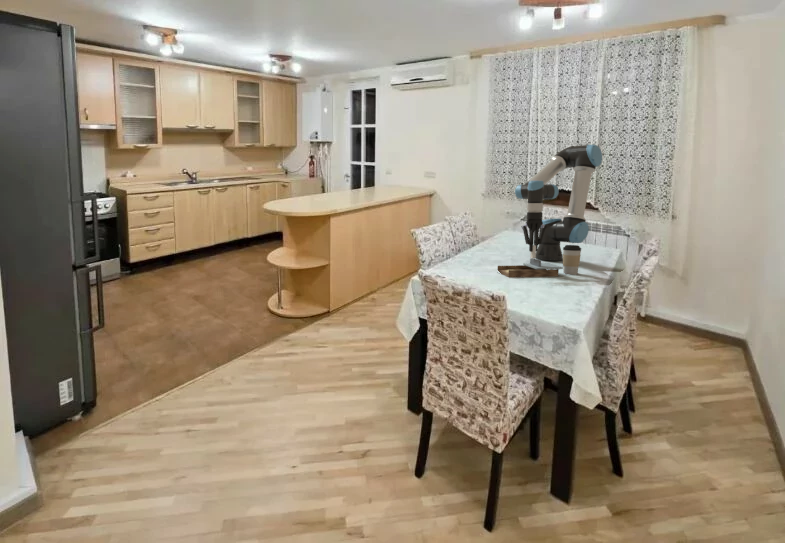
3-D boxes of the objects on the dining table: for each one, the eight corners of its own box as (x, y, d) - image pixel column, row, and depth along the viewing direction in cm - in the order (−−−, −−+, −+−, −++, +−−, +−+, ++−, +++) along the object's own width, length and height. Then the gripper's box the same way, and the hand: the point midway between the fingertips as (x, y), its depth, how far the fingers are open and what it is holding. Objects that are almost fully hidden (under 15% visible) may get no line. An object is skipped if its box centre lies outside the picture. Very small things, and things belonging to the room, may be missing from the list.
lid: (548, 264, 255) (548, 257, 255) (562, 268, 240) (563, 261, 240) (523, 264, 253) (523, 257, 253) (536, 269, 238) (536, 261, 237)
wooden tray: (543, 271, 256) (544, 265, 255) (558, 276, 240) (558, 269, 240) (497, 272, 252) (497, 265, 251) (508, 277, 236) (509, 270, 236)
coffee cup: (558, 272, 254) (560, 243, 251) (574, 272, 254) (576, 243, 252) (565, 275, 245) (567, 245, 242) (582, 274, 246) (585, 245, 243)
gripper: (543, 211, 246) (541, 256, 250) (519, 211, 244) (517, 257, 248) (550, 211, 239) (548, 258, 243) (525, 212, 237) (524, 259, 241)
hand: (532, 257), depth 245 cm, fingers closed
